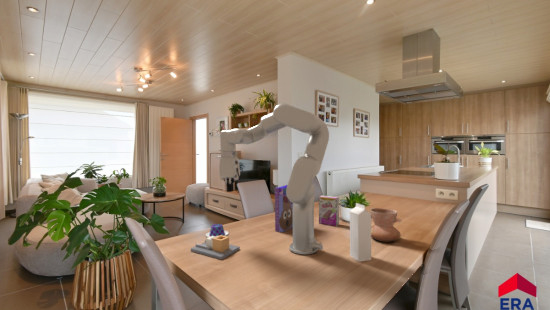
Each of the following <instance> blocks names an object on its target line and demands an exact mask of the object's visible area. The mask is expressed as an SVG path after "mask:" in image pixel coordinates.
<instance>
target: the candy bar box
mask: <svg viewBox="0 0 550 310" xmlns="http://www.w3.org/2000/svg"><path fill="white" fill-rule="evenodd" d="M318 224H321V225H327V226H333V227H338V226H339V225H340V197H339V196H330V195H320V196H318Z"/></svg>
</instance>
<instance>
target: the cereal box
mask: <svg viewBox="0 0 550 310" xmlns="http://www.w3.org/2000/svg"><path fill="white" fill-rule="evenodd" d="M287 185H288V184H286V185H282V186H278V187H275V188H274V227H275V228H274V230H275V231H274V232H276V233H277V232H278V233H282V234H283V233H285V232H286V231H288V230H290V229H293V203H292V202H290V201H289V199H288V198H287V195H286V189H287Z"/></svg>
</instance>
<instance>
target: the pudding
mask: <svg viewBox="0 0 550 310" xmlns="http://www.w3.org/2000/svg"><path fill="white" fill-rule="evenodd" d="M224 228H225V227H224V225H223V224H221V223H215V224H212V225H211V227H210V230H209V232H206V233H205V237H206V238H208V237H211V236H220V235H222V236H228V235H229V234H230V233H229V231H228V230H225V229H224Z"/></svg>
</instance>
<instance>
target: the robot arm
mask: <svg viewBox="0 0 550 310" xmlns="http://www.w3.org/2000/svg"><path fill="white" fill-rule="evenodd" d="M286 127H289V128H291V129H293V130H297V131H299V132H301V133H304V134H308V135H309V139H308V141H307V144H306V146H305V151H304V153H303V156H301V157H299V158H297V160H295V162H294V163H293V166H292V169H291V173H290V176H289V180H288V182H287V184H286V185H287V189H286V195H287V198H288V199H289V201H290V202H292V203H293V227H292V243H290V245H289V251H290V252H291V253H294V254H297V255H312V254H315V253H316V252H317V251H318V250H324V249H323V248H324V246H323V243H321V242H317V239H316V238H315V198H316V196H315V194H316V189H315V185H314V183H313V182H314V180H315V177H317V175H318V174H319V173H320V171H321V167H322V164H323V162H324V161H323V160H324V157H325V155H326V151H327V147H328V145H329V140H330V139H329V138H330V131H329V128H328V125H327V124H326V123H325V122H324V120H322V119H321V118H320V117H319V116H318V115H315V114H314V113H312V112H309V111H307V110H304V109H302V108H298V107H296V106H293V105H290V104H288V103H284V102H283V103H278V104H277V105H276V106H275V107H274V108H273V111H272V112H270V113H268V114H266V115H264V116H262V117H261V118H260V122H259V123H258V124H257V125H255V126H253V127H251V128H248V129H247V128H233V129H224V130H221V131H220V132H219V138H220V139H219V141H220V144H219V145H220V158H219V165H218V166H219V167H218V168H219V173H218V174H219V177H220V180H222V181H224V183H225V185H226V192H227V193H231V192H234V184H235V182H236V181H239V179H240V176H241V169H240V162H239V161H240V160H239V158H238V157H237V156H238V154H239V153H238V152H237V145H250V144H254V143H255V142H259V141H261V140H262V139H264V138H266V137H268V136H269V135H270V134H272V133H275V132H278V131H279V130H282V129H284V128H286Z"/></svg>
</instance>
